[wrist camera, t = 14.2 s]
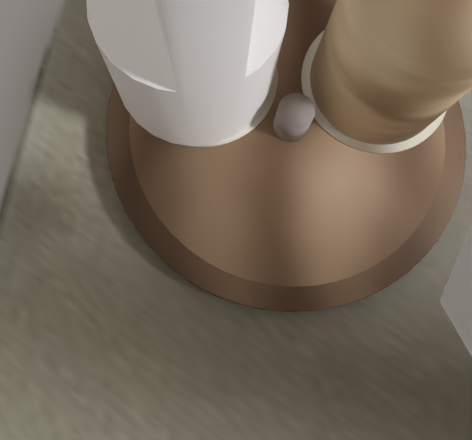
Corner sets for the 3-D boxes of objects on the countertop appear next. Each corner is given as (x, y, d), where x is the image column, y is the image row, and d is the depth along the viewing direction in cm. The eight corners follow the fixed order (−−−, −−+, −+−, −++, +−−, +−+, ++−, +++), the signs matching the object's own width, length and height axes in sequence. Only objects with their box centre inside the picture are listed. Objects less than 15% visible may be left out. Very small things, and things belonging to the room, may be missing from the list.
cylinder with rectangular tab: (103, 22, 25) (4, -230, 13) (249, -7, 26) (277, -266, 14) (134, 162, 23) (54, 16, 12) (289, 126, 24) (359, -43, 13)
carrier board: (439, -6, 28) (468, -47, 25) (470, 314, 24) (510, 315, 21) (124, -23, 27) (112, -67, 24) (96, 308, 23) (77, 308, 20)
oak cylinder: (436, 25, 26) (530, -95, 18) (447, 147, 25) (556, 72, 17) (308, 19, 26) (350, -106, 18) (311, 142, 24) (358, 62, 16)
